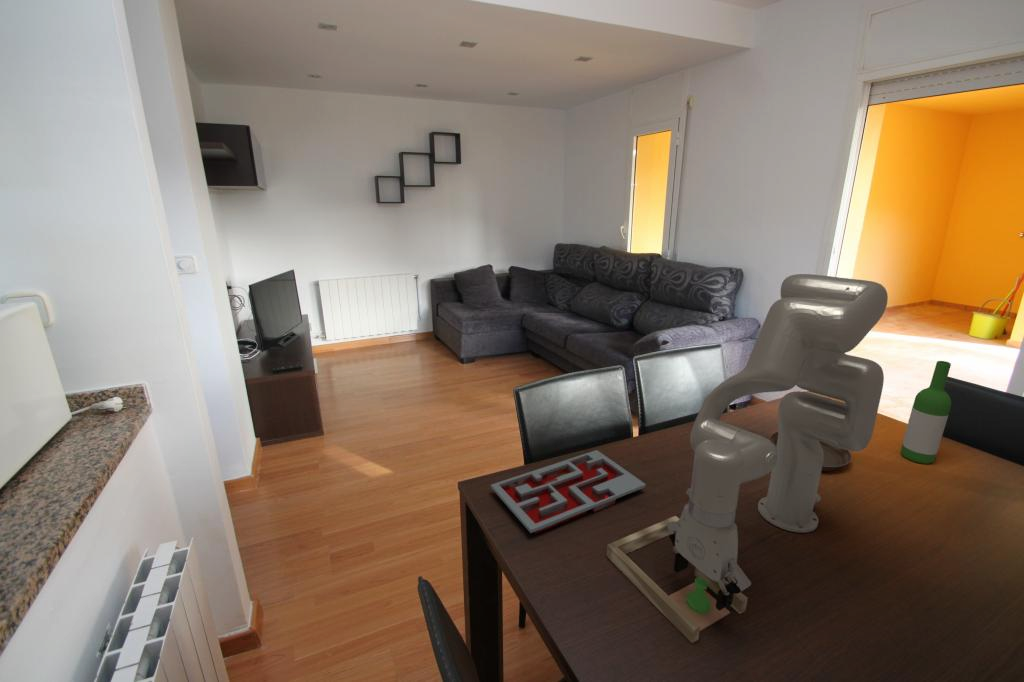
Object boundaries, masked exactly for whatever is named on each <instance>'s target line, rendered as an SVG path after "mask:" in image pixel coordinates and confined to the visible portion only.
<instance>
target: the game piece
mask: <svg viewBox="0 0 1024 682" xmlns="http://www.w3.org/2000/svg"><path fill="white" fill-rule="evenodd" d="M694 582H695V583H694ZM694 582H693V583H694V585H695V586H696V588H695V590H694V591H693V592H692V593H688V596H687V599H686V603H687V605H688V606H689V608H690V609H691V610H693V611H695V612H697V613H700V614H702V613H707V612H709V608H710V601H709V600H708V599H707V597H706V595H705V592H704V590H707V589H708V586H707V583H708V582H707V581H706V580H705V579H703V578H702V577H699V578H697V577H695V578H694Z"/></svg>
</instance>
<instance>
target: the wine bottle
mask: <svg viewBox="0 0 1024 682" xmlns="http://www.w3.org/2000/svg"><path fill="white" fill-rule="evenodd" d="M951 365H952V363H951V362H949V361H945V360H937V361H936V364H935V367H934V371H933V374H932V378H931V381H930V384H929V386H928V387H926V388H923V389H921V390H920V391H919V392H918V393H917V394H916V395H915V398H914V401H913V404H912V408H911V410H910V414H909V418H908V422H907V426H906V430H905V432H904V435H903V440H902V444H901V447H900V453H901V456H903V457H904V458H905V459H906V460H910V461H911V462H914V463H917V464H925V465H926V464H932V463H933V462H934V461H935V460H936V457H937V454H938V452H939V451H938V450H939V448H940V444H941V442H942V438H943V434H944V431H945V428H946V425H947V422H948V421H947V420H948V418H949V415H950V410H951V407H952V399H951V397H950V395H949V393H947V391H945V387H946V384H947V381H948V380H947V379H948V376H949V372H950V368H951Z"/></svg>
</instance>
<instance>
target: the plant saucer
mask: <svg viewBox="0 0 1024 682" xmlns="http://www.w3.org/2000/svg"><path fill="white" fill-rule="evenodd" d="M768 440H770V441H771V442H772V443H773V444H774V445H775V446H777V440H778V431H776V432H774V433H772V434H771V435H770V437H769V439H768ZM819 442H820V444H821V446H822V449H823V453H824V462H823V467H822V471H821V472H830V471H835V470H838V469H841V468H843V467H845V466H847V465H848V464H849V463H851V461H852V459H853V457H852V454H851V451H848V450H845V449H842V448H839V447H836V446H833V445H830V444H827V443H824V442H821V441H819Z"/></svg>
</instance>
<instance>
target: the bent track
mask: <svg viewBox="0 0 1024 682" xmlns="http://www.w3.org/2000/svg"><path fill="white" fill-rule="evenodd" d="M679 520H680V517H678V516H676V515H674V516H672V517H669V518H666V519H664V520H662V521H659V522H658V523H655V524H653V525H651V526H648V527H645V528H643V529H641V530H638V531H636V532H634V533H632V534H629V535H627V536H625V537H622V538H620V539H618V540H615V541H613V542H610V543H608V544H607V545H606V557H607V559H609V560H610V561H611V563H613V564H614V566H615V567H616V568H617V569H618V570H619V571H620V572H621V571H622V572H621V573H622V574H623V575H624V576H625V577H626V578H628V580H629V581H630V582H631V583H632V584H633V585H634V586H635V587H636V588H637V589H638V590H639V591H640V592H641V593H642V594H643V595H644V596H645V597H646V598H647V599H648V600H649V601H650V602H651V603H652V604H653V605H654V606H655V607H656V608H657V610H658V611H659V612H661V614H662V615H663V616H664V617H665V618H666V619H667V620H668V621H669V622H670V623H671V624H672V625H673V626H674V628H676V629H677V630H678V631H679V632H680V633H681V634H682V635H683V636H684V637H685V638H686V639H687V640H688V641H689V642H690V643H691V644H693V643H695V642H697V641H699V636H700V633H701V631H703V630H705V629H706V628H708V627H710V626H711V625H713V624H714V623H716V622H718V621H719V620H721V619H723V618H725V617H726V616H728V615H729V614H731V612H730V610H728V609H727V608H726V607H725V608H723V609H722V610H720V611H719V610H718V609H717V608H716V602H717V598H715V597H714V596H713V595H712V594H710V593H709V592H708V591H707V590H706V589H704V592H705V595H706V597H707V599H708V600H709V601H710V608H709V612H707V613H702V614H700V613H697V612H695V611H693V610H691V609H690V608H689V606H688V605H687V603H686V599H687V596H688V593H692V592H693V591H694V590H695V588H696V586H695V585H694V583H695V581H694V582H692V583H690V584H688V585H686V586H685V587H682V588H681V589H679V590H677V591H675V592H673V593H671V594H670V595H668V594H667V593H666V592H665V591H664V590H663V589H662V588H661V587H660V586H659V585H658V584H657V583H656V582H655V581H654V580H653V579H651V577H650V576H648V575H647V574H646V573H645V572H644V571H643V570H642V569H641V568H640V567H639V566H638V565H637V564H636V563H635V562H634V561H633V560H632V559H631V558H630V557H629V556H628V554H630V553H632V552H634V551H636V549H637V550H638V549H641V548H643V547H646V546H647V545H650V544H652V543H654V542H657V541H658V540H661V539H663V538H667V537H668V536H670V533H669V529H668V526H667V524H668V523H670V522H672V521H674V522H679ZM629 552H630V553H629ZM627 553H628V554H627ZM694 568H695V569H694V576H695V578H699V577H702V578H703V579H705V580H706V581H707V582H708V583H707V588H708V589H710V590H711V591H713V593H715V594H716V595H718V591H719V590H720V589H721V588H720V586H719V583H718V582H715V581H713V580H711V579H710V578H708V577H707V576H706V575H705V574H703V573H702V572H701V571H700V570H699V569H697V568H696V567H695V566H694ZM724 580H725V582H726V584H728V583H729V582H728V580H726V578H724ZM748 600H749V599H748V597H747V596H746V595H745V594H743V592H742V591H741V592H740V593H738V594H734V595H733V601H732V604H731V606H730V607H731V608H732V609H733V610H734V611H736V612H737V613H738V614H739V615H741V614H743V613H745V612H746V609H747V605H748Z"/></svg>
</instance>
